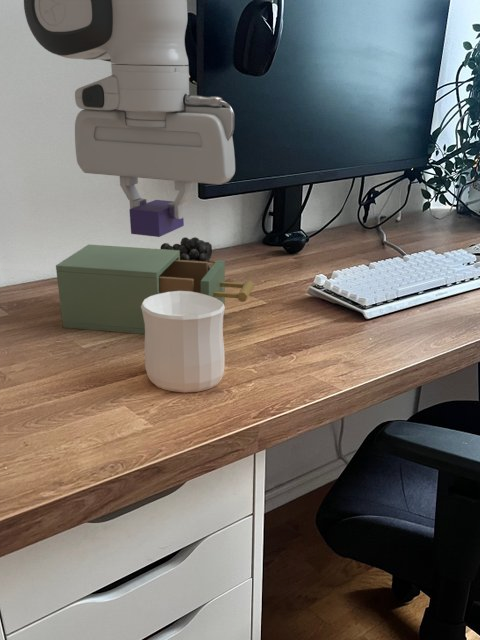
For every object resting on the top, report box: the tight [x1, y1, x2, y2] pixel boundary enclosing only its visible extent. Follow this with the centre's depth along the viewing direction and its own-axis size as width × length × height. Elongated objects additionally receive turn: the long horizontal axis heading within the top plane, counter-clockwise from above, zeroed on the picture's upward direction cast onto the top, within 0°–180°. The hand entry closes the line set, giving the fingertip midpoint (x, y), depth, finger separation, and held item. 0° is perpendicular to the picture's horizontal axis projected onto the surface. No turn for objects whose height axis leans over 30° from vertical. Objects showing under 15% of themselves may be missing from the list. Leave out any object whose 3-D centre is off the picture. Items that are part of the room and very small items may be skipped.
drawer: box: [159, 259, 255, 307], centre depth 102 cm, size 18×11×7 cm, turn 81°
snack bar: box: [129, 199, 185, 238], centre depth 87 cm, size 7×4×3 cm, turn 160°
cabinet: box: [55, 243, 180, 335], centre depth 103 cm, size 15×13×9 cm
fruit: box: [159, 236, 216, 271], centre depth 117 cm, size 9×8×15 cm
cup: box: [141, 291, 226, 394], centre depth 84 cm, size 10×10×10 cm
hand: (157, 216), depth 87 cm, fingers closed on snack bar, 4 cm apart
